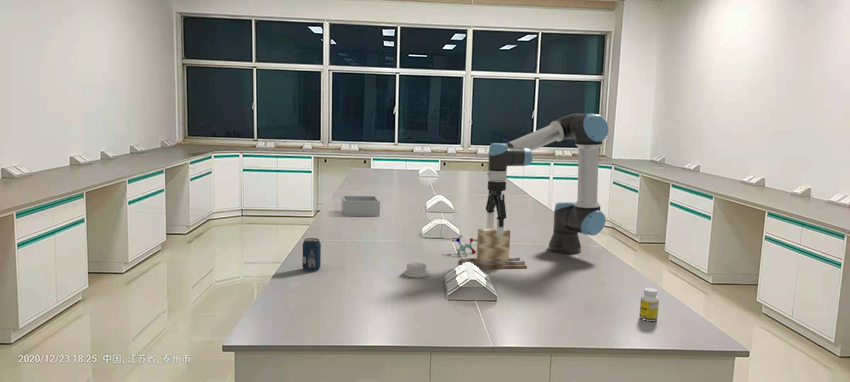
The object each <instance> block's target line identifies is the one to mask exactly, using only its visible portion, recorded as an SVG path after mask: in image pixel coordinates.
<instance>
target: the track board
mask: <svg viewBox="0 0 850 382" xmlns="http://www.w3.org/2000/svg"><path fill="white" fill-rule="evenodd" d="M476 259H477V257H461V258H460V259H458V262H459V263H460V264H461V265H462V263H465V262H471V263H473V264H474V265H476V266H477V267H479V268H481V269H480V270H486V269H488V270H492V269H494V270H495V269H496V270H497V269H499V270H502V269H504V270H505V269H508V270H509V269H527V268H528V265H527V264H526V261H524V260H521V258H520V257H509V261H482V262H476Z"/></svg>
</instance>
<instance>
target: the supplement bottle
mask: <svg viewBox="0 0 850 382" xmlns="http://www.w3.org/2000/svg"><path fill="white" fill-rule="evenodd" d="M643 293H644V294H642V295H641V298H640V308H639V319H640V318H642V319H645V320H648V321H655V320H657V321H658V316H659V303H660V298H659V297H658V296H657V295H658V290H657V289H656V288H652V287H645V288H644V289H643ZM642 319H641V320H642ZM648 321H647V322H648ZM655 322H656V321H655Z"/></svg>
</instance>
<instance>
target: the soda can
mask: <svg viewBox="0 0 850 382" xmlns="http://www.w3.org/2000/svg"><path fill="white" fill-rule="evenodd" d="M321 247H322V243H321V241H320V239H319V238H314V237H309V238H305V239H304V241H303V242H302V260H301V261H302V263H301V264H302V265H301V267H302V269H303V271H305V272H310V273H311V272H318V271H319V270H320V269H321V259H322V257H321V256H322V255H321V254H322V253H321V251H322V249H321Z"/></svg>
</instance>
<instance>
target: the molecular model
mask: <svg viewBox="0 0 850 382" xmlns="http://www.w3.org/2000/svg"><path fill="white" fill-rule="evenodd" d="M461 238H463V234H459V237H458V238H456V239H451V242H452V243H455V242H457V243H458V245H460V246H459V248H456V252H457V253H458V254H461V251H462V252H464V253H463V254H464V255H465V257H468V256H469V255H468V253H467V251H466V248H468V250H469V249H470V251H471V252H472V254H477V250H476V249H474V248H473V246H472V242H476V243H477V240H478V238H476V239H475V238H473V237H471V238H470V239H469V243H467V242H466V243H465V244H464V245H463V244H462V243H461Z"/></svg>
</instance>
